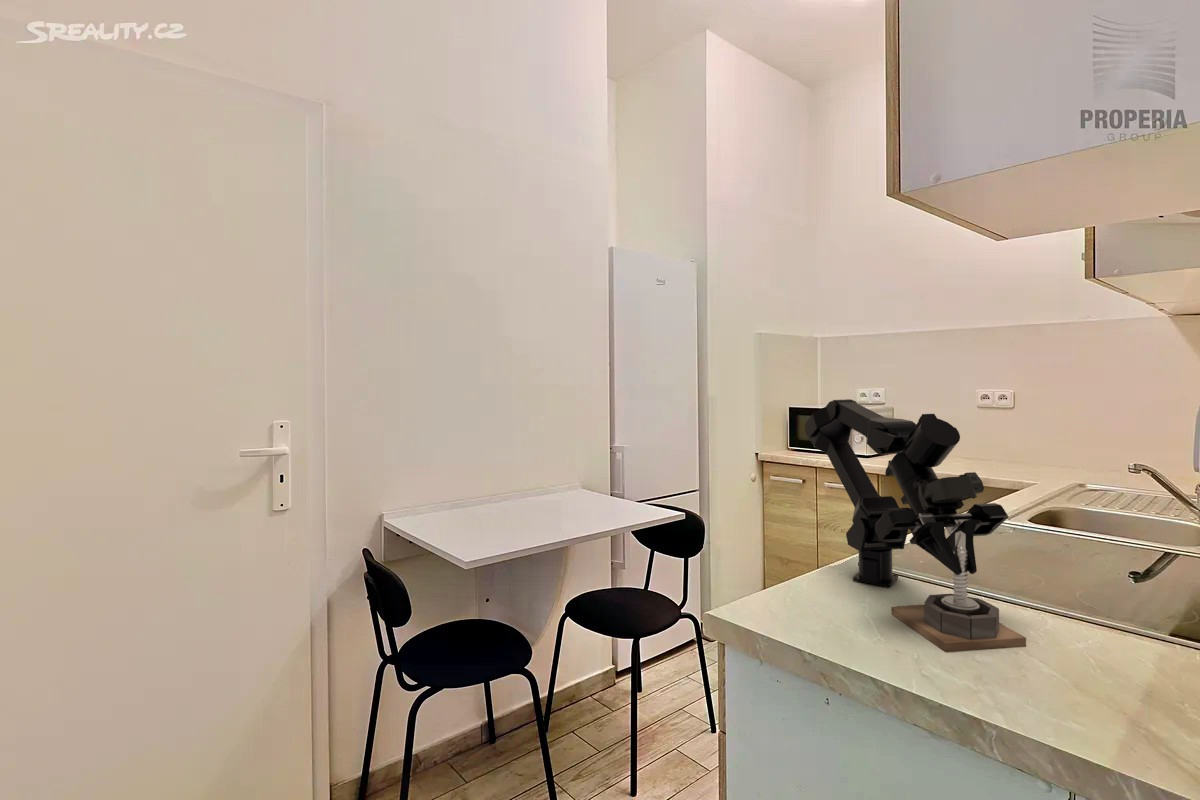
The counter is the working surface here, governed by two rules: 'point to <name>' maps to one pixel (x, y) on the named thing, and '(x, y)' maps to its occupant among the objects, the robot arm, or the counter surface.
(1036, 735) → the counter surface
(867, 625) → the counter surface
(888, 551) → the robot arm
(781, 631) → the counter surface
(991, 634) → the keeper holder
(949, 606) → the screw
